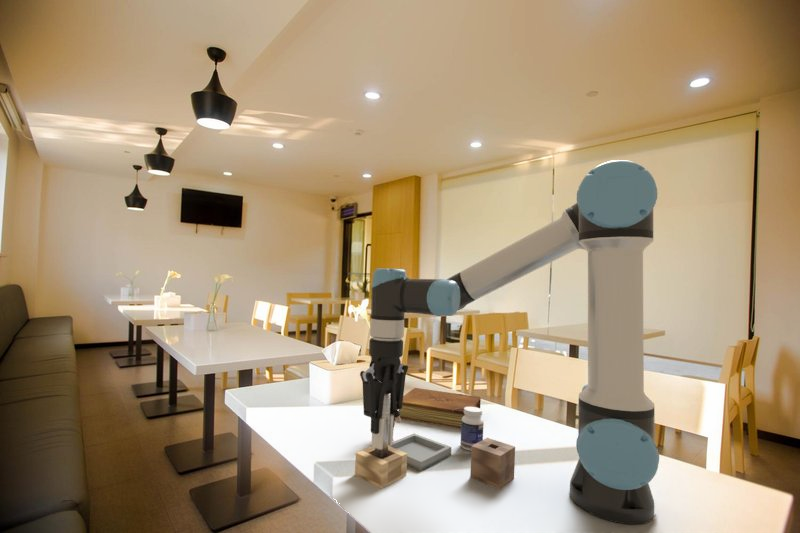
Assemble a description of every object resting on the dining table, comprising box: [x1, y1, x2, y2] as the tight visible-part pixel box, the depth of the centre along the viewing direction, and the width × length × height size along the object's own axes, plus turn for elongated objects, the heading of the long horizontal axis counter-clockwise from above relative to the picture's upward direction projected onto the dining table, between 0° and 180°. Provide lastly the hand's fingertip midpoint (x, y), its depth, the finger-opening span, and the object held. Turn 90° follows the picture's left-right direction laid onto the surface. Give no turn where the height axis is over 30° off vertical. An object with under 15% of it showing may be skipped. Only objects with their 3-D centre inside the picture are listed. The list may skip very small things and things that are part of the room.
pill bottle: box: [460, 407, 484, 452], centre depth 108 cm, size 6×6×10 cm
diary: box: [397, 387, 482, 430], centre depth 132 cm, size 23×19×6 cm
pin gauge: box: [375, 391, 391, 459], centre depth 91 cm, size 3×3×16 cm
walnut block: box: [469, 437, 516, 490], centre depth 91 cm, size 7×7×7 cm
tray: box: [389, 433, 452, 472], centre depth 101 cm, size 12×12×2 cm
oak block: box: [354, 446, 408, 489], centre depth 90 cm, size 8×8×5 cm
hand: (382, 445), depth 90 cm, fingers closed on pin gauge, 2 cm apart
